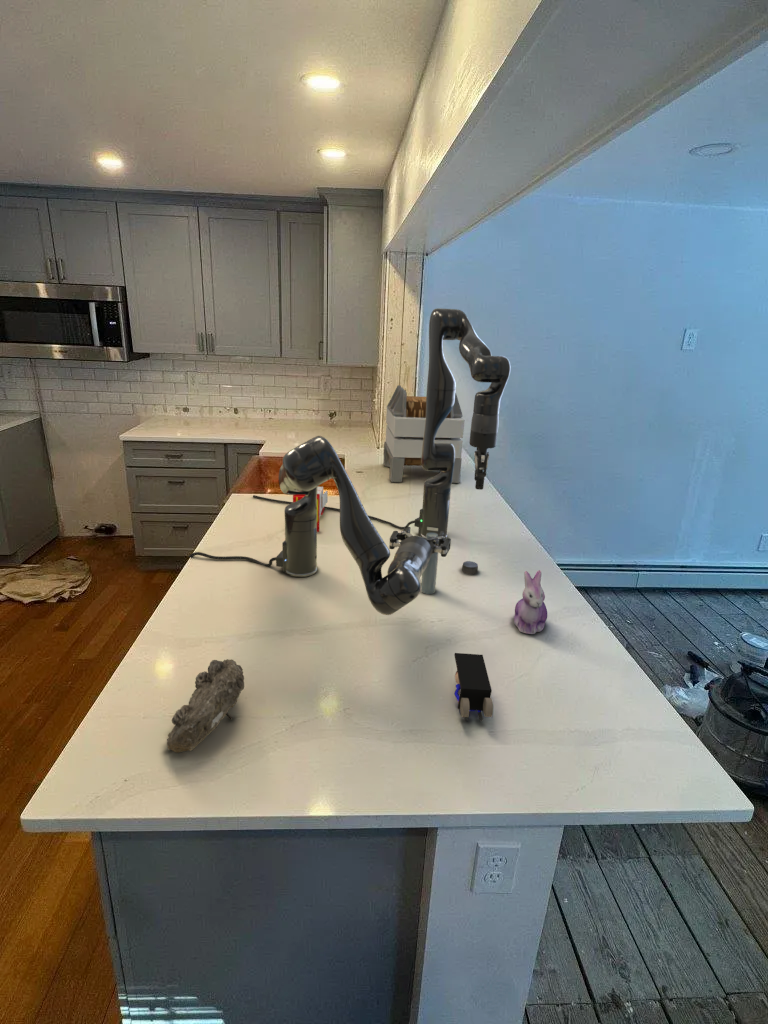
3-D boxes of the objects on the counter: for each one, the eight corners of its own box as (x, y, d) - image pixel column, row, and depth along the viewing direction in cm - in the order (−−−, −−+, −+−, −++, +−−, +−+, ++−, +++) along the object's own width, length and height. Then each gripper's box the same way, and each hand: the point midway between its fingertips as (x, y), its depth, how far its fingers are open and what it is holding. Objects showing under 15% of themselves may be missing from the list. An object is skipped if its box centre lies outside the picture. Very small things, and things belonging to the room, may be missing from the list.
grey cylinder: (419, 587, 162) (423, 531, 157) (434, 587, 163) (438, 531, 157) (421, 593, 158) (425, 537, 153) (435, 594, 159) (440, 537, 153)
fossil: (192, 660, 117) (244, 628, 112) (224, 691, 120) (276, 661, 115) (142, 746, 98) (202, 712, 93) (182, 779, 101) (242, 748, 96)
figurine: (529, 639, 138) (537, 584, 133) (502, 619, 147) (509, 567, 142) (558, 631, 142) (567, 577, 137) (530, 612, 151) (538, 561, 146)
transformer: (382, 463, 289) (386, 382, 275) (445, 464, 293) (451, 384, 279) (390, 482, 257) (394, 392, 243) (460, 483, 261) (468, 394, 247)
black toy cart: (492, 733, 109) (479, 678, 122) (498, 704, 105) (484, 650, 119) (458, 733, 109) (448, 677, 122) (462, 703, 105) (452, 650, 119)
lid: (480, 573, 172) (480, 566, 171) (466, 575, 171) (466, 568, 170) (472, 567, 176) (473, 560, 175) (459, 569, 175) (460, 561, 174)
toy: (328, 481, 222) (323, 495, 193) (328, 515, 225) (322, 533, 196) (297, 480, 222) (287, 494, 192) (297, 514, 224) (287, 532, 195)
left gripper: (444, 547, 125) (454, 522, 139) (382, 538, 128) (398, 514, 143) (442, 577, 127) (452, 550, 142) (380, 568, 130) (397, 542, 145)
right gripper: (470, 423, 166) (465, 477, 171) (471, 433, 152) (465, 491, 158) (496, 425, 165) (490, 478, 170) (499, 435, 152) (493, 493, 157)
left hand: (425, 532), depth 142 cm, fingers open, 8 cm apart
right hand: (478, 484), depth 164 cm, fingers open, 8 cm apart
